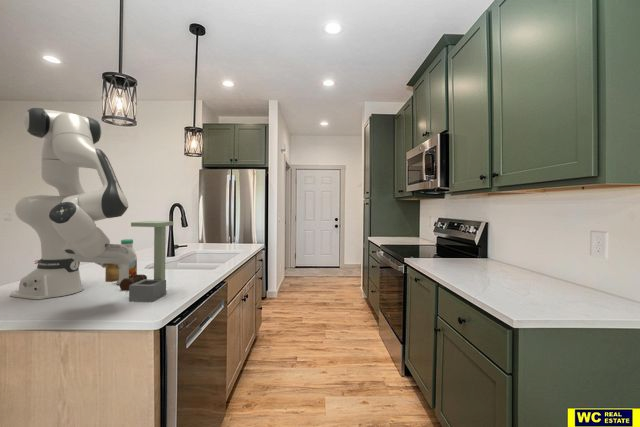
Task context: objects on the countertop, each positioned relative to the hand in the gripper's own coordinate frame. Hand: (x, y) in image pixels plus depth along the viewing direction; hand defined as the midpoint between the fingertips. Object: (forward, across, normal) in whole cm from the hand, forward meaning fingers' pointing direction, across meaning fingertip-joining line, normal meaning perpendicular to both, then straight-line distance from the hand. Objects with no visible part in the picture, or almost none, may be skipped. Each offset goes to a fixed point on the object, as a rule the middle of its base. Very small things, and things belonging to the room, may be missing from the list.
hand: (113, 266), depth 105 cm
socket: (+14, -9, +4) cm, 17 cm away
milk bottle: (+28, +13, -8) cm, 33 cm away
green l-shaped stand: (+17, -9, +2) cm, 19 cm away
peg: (+3, 0, +4) cm, 5 cm away
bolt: (+26, +7, -6) cm, 27 cm away
